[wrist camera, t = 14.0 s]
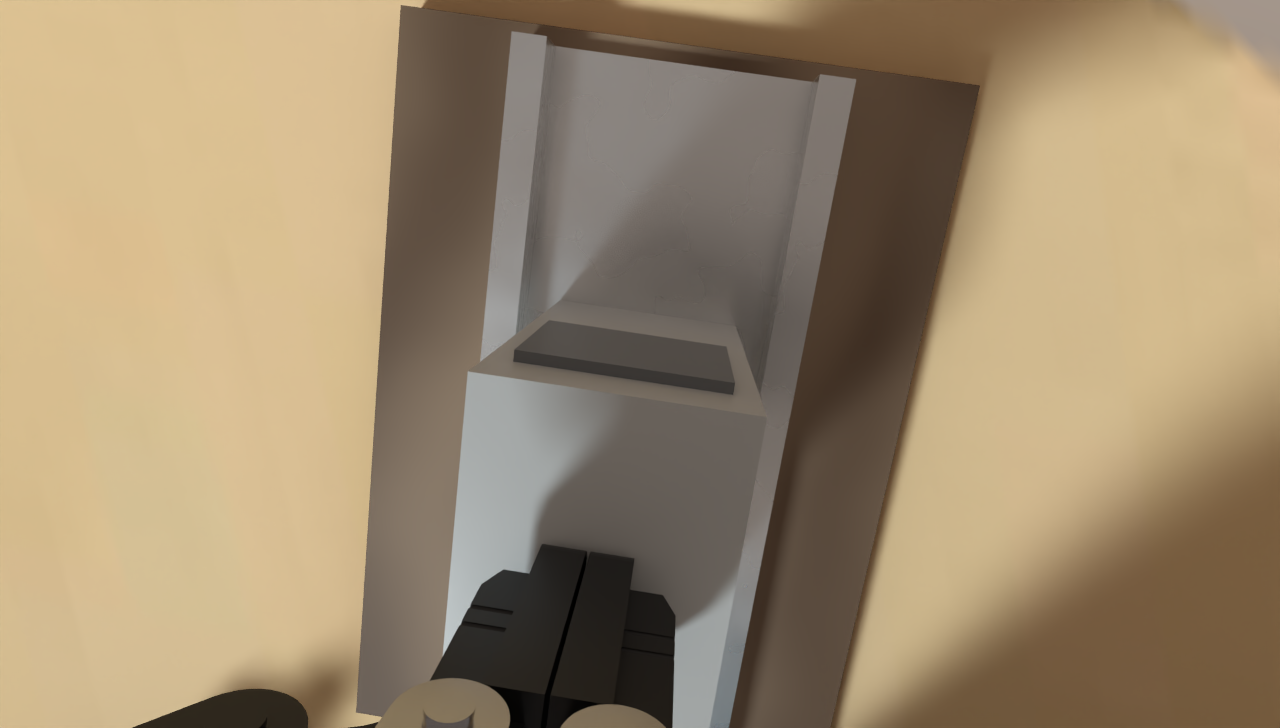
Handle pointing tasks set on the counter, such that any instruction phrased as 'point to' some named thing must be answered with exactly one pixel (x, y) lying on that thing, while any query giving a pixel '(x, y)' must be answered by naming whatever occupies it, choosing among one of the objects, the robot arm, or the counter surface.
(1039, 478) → the counter surface
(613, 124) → the rail channel
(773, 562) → the mounting board
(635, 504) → the grey module
